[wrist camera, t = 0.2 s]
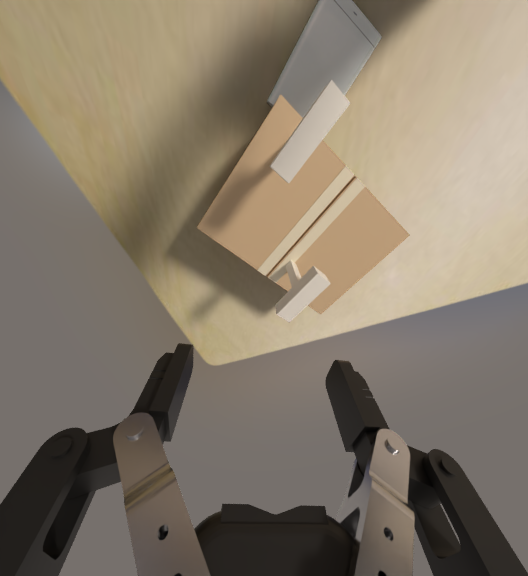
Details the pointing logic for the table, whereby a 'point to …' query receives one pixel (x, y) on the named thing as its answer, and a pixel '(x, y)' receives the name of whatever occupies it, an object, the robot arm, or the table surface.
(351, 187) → the right flap
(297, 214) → the carton
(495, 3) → the table surface
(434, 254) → the table surface
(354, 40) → the hard drive
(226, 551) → the robot arm
